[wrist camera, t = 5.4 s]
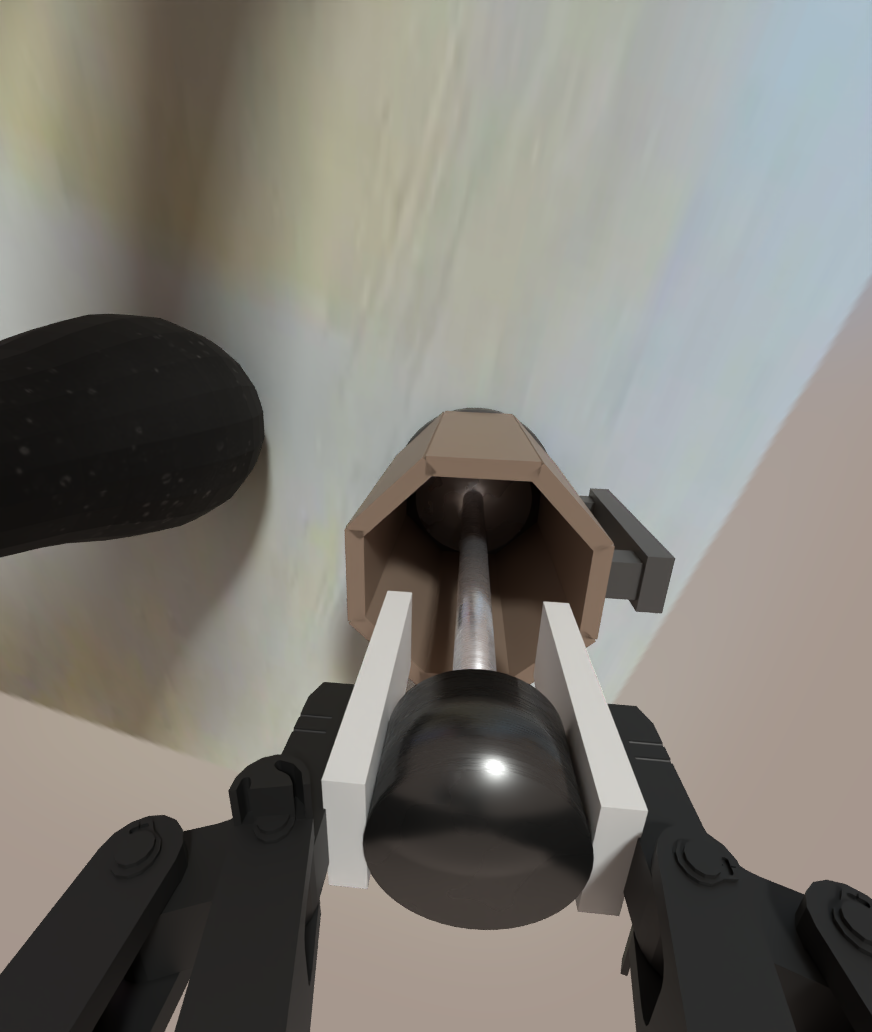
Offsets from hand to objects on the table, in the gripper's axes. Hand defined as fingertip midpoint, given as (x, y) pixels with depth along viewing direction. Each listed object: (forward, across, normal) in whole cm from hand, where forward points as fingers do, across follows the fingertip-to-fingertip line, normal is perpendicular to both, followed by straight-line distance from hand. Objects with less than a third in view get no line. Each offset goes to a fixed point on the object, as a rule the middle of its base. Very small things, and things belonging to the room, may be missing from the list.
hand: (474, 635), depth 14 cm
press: (+16, +1, 0) cm, 16 cm away
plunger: (+14, 0, 0) cm, 14 cm away
